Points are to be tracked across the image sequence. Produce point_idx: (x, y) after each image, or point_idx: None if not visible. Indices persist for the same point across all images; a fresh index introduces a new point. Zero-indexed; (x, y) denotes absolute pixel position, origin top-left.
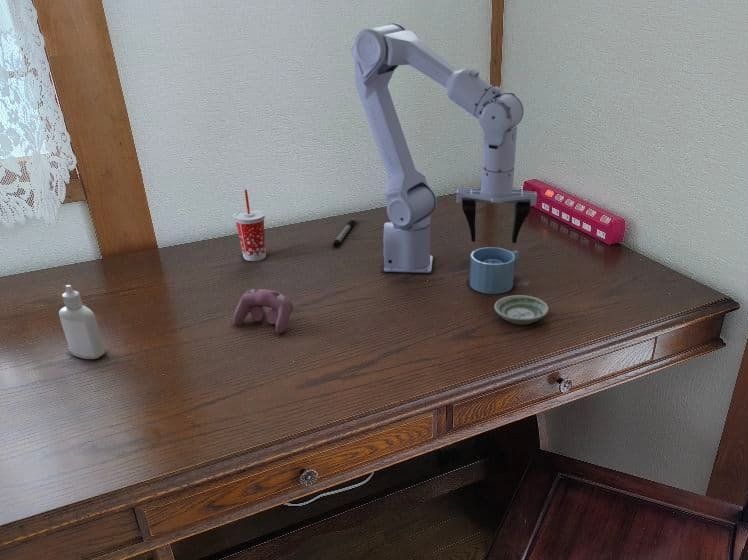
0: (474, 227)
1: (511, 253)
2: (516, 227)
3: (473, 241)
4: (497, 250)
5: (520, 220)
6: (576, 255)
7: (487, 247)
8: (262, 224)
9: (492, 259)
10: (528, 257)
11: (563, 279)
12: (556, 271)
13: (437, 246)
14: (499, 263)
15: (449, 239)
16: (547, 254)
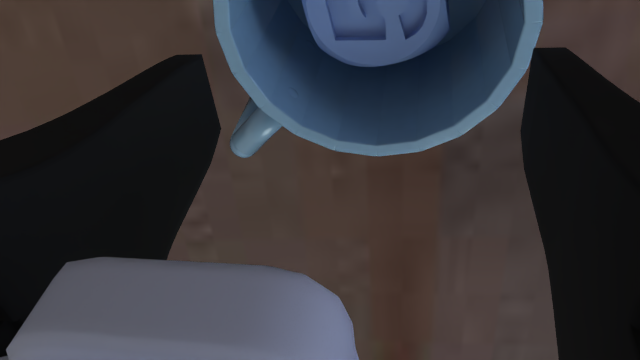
0: (581, 102)
1: (249, 75)
2: (106, 110)
3: (549, 48)
4: (345, 133)
5: (20, 146)
6: None
7: (409, 149)
8: None
9: (376, 57)
10: (239, 230)
11: (51, 51)
12: None
13: None
14: (330, 13)
15: (551, 349)
16: (175, 251)
